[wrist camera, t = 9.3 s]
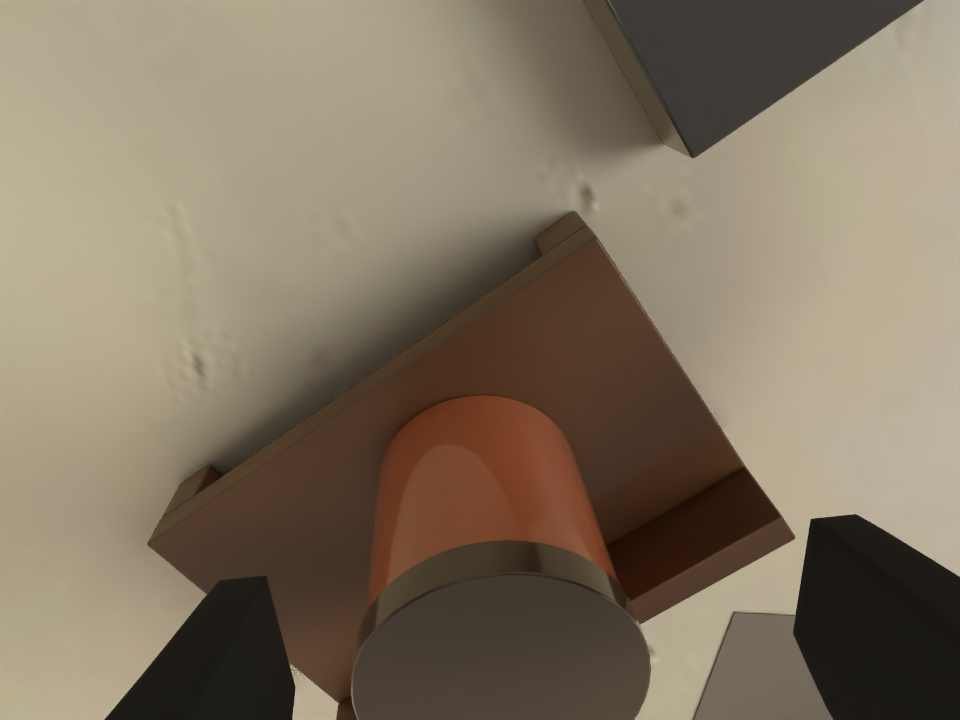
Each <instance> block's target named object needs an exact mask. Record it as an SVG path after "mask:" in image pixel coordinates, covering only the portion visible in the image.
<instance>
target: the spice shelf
mask: <svg viewBox="0 0 960 720" xmlns="http://www.w3.org/2000/svg"><path fill="white" fill-rule="evenodd" d="M535 242H536V244H537V246H538V248H539V250H540V252H541V254H542V257H540V258H539V259H537V260H536V261H534V262H533V263H532V264H530V265H529V266H527V267H526V268H524V269H523V270H521V271H520V272H518V273H517V274H516V275H514V276H513V277H511V278H510V279H508V280H507V281H505V282H504V283H503V284H501V285H500V286H498V287H497V288H495V289H494V290H492V291H491V292H489V293H488V294H487V295H485V296H484V297H482V298H481V299H479V300H478V301H476V302H475V303H474V304H472V305H471V306H469V307H468V308H466V309H465V310H463V311H462V312H460V313H459V314H458V315H456V316H455V317H453V318H452V319H450V320H449V321H447V322H446V323H445V324H443V325H442V326H440V327H439V328H437V329H436V330H434V331H433V332H431V333H430V334H429V335H427V336H426V337H424V338H423V339H421V340H420V341H418V342H417V343H416V344H414V345H413V346H411V347H410V348H408V349H407V350H405V351H404V352H402V353H401V354H400V355H398V356H397V357H395V358H394V359H392V360H391V361H389V362H388V363H387V364H385V365H384V366H382V367H381V368H379V369H378V370H376V371H375V372H373V373H372V374H371V375H369V376H368V377H366V378H365V379H363V380H362V381H360V382H359V383H358V384H356V385H355V386H353V387H352V388H350V389H349V390H347V391H346V392H344V393H343V394H342V395H340V396H339V397H337V398H336V399H334V400H333V401H331V402H330V403H329V404H327V405H326V406H324V407H323V408H321V409H320V410H318V411H317V412H315V413H314V414H313V415H311V416H310V417H308V418H307V419H305V420H304V421H302V422H301V423H300V424H298V425H297V426H295V427H294V428H292V429H291V430H289V431H288V432H286V433H285V434H284V435H282V436H281V437H279V438H278V439H276V440H275V441H273V442H272V443H271V444H269V445H268V446H266V447H265V448H263V449H262V450H260V451H259V452H257V453H256V454H255V455H253V456H252V457H250V458H249V459H247V460H246V461H244V462H243V463H242V464H240V465H239V466H237V467H236V468H234V469H233V470H231V471H230V472H228V473H227V474H226V475H224V476H222V475H221V474H220V473H219V472H217V471H216V470H215V469H214V468H213V467H212V466H210V465H209V466H207V467H205V468H204V469H202V470H201V471H199V472H198V473H197V474H195V475H194V476H192V477H191V478H189V479H188V480H187V481H185V482H184V483H182V484H181V485H179V487H178V489H177V491H176V493H175V494H174V496H173V498H172V500H171V502H170V504H169V506H168V507H167V509H166V511H165V513H164V515H163V517H162V519H160V521H159V523H158V525H157V526H156V528H155V530H154V532H153V534H152V536H151V538H150V539H149V541H148V543H147V545H148V546H149V547H150V548H151V549H153V550H154V551H155V552H156V553H158V554H159V555H160V556H161V557H162V558H164V559H165V560H166V561H167V562H168V563H170V564H171V565H172V566H173V567H174V568H176V569H177V570H178V571H179V572H181V573H182V574H183V575H184V576H185V577H187V578H188V579H189V580H190V581H191V582H193V583H194V584H195V585H196V586H197V587H199V588H200V589H201V590H202V591H203V592H205V593H206V594H208V593H209V592H210V590H211V589H212V588H213V587H214V586H215V585H216V584H217V582H218V581H219V580H228V579H238V578H247V577H257V576H267V580H268V584H269V588H270V592H271V596H272V599H273V603H274V607H275V611H276V615H277V619H278V623H279V626H280V630H281V634H282V638H283V642H284V646H285V649H286V653H287V657H288V661H289V663H291V664H292V665H293V666H294V667H295V668H297V669H298V670H299V671H300V672H301V673H303V674H304V675H305V676H306V677H307V678H309V679H310V680H311V681H312V682H314V683H315V684H316V685H317V686H318V687H320V688H321V689H322V690H323V691H324V692H326V693H327V694H328V695H329V696H330V697H332V698H333V699H334V700H335V701H337V702H338V703H339V705H338V711H337V719H336V720H357V717H356V714H355V711H354V708H353V704H352V697H351V678H352V669H353V660H354V651H355V644H356V639H357V635H358V630H359V628H360V626H361V623H362V621H363V618H364V613H365V604H366V594H367V585H368V575H369V566H370V556H371V546H372V537H373V527H374V518H375V508H376V499H377V489H378V480H379V471H380V467H381V462H382V459H383V457H384V454H385V452H386V450H387V448H388V446H389V444H390V443H391V441H392V440H393V438H394V437H395V436H396V434H397V433H398V432H399V431H400V430H401V429H402V428H403V427H404V426H405V425H406V424H407V423H408V422H409V421H410V420H412V419H413V418H414V417H415V416H417V415H418V414H420V413H421V412H423V411H425V410H426V409H428V408H430V407H432V406H434V405H437V404H439V403H442V402H444V401H448V400H451V399H455V398H460V397H466V396H476V395H488V396H499V397H505V398H510V399H513V400H516V401H519V402H522V403H525V404H527V405H529V406H531V407H533V408H535V409H537V410H538V411H540V412H542V413H543V414H545V415H546V416H547V417H548V418H550V419H551V420H552V421H553V422H554V423H555V424H556V425H557V426H558V427H559V428H560V429H561V431H562V432H563V433H564V435H565V437H566V438H567V440H568V441H569V444H570V446H571V448H572V450H573V453H574V456H575V458H576V461H577V464H578V467H579V470H580V473H581V476H582V478H583V481H584V484H585V487H586V490H587V493H588V496H589V498H590V501H591V504H592V507H593V510H594V513H595V516H596V518H597V521H598V524H599V527H600V530H601V533H602V536H603V538H604V541H605V544H606V547H607V550H608V553H609V556H610V558H611V561H612V564H613V567H614V570H615V573H616V576H617V578H618V581H619V584H620V586H621V587H622V589H623V590H624V591H625V593H626V594H627V596H628V597H629V599H630V601H631V603H632V605H633V608H634V610H635V612H636V615H637V618H638V621H639V623H640V624H641V623H643V622H645V621H647V620H649V619H651V618H652V617H654V616H656V615H658V614H660V613H661V612H663V611H665V610H667V609H669V608H670V607H672V606H674V605H676V604H678V603H680V602H681V601H683V600H685V599H687V598H689V597H690V596H692V595H694V594H696V593H698V592H699V591H701V590H703V589H705V588H707V587H708V586H710V585H712V584H714V583H716V582H718V581H719V580H721V579H723V578H725V577H727V576H728V575H730V574H732V573H734V572H736V571H737V570H739V569H741V568H743V567H745V566H747V565H748V564H750V563H752V562H754V561H756V560H757V559H759V558H761V557H763V556H765V555H766V554H768V553H770V552H772V551H774V550H776V549H777V548H779V547H781V546H783V545H785V544H786V543H788V542H790V541H792V540H794V539H795V536H794V534H793V532H792V531H791V529H790V528H789V526H788V525H787V523H786V522H785V520H784V518H783V517H782V515H781V514H780V513H779V511H778V510H777V509H776V507H775V506H774V505H773V503H772V502H771V500H770V499H769V498H768V496H767V495H766V494H765V492H764V491H763V490H762V488H761V487H760V485H759V484H758V483H757V481H756V480H755V479H754V477H753V476H752V475H751V473H750V472H749V470H748V469H747V468H746V466H745V465H744V463H743V462H742V460H741V459H740V457H739V456H738V454H737V452H736V451H735V449H734V448H733V446H732V445H731V443H730V442H729V440H728V439H727V437H726V435H725V434H724V432H723V431H722V429H721V428H720V426H719V425H718V423H717V422H716V420H715V418H714V417H713V415H712V414H711V412H710V411H709V409H708V408H707V406H706V404H705V403H704V401H703V400H702V398H701V397H700V395H699V394H698V392H697V391H696V389H695V387H694V386H693V384H692V383H691V381H690V380H689V378H688V377H687V375H686V374H685V372H684V370H683V369H682V367H681V366H680V364H679V363H678V361H677V360H676V358H675V357H674V355H673V353H672V352H671V350H670V349H669V347H668V346H667V344H666V343H665V341H664V340H663V338H662V336H661V335H660V333H659V332H658V330H657V329H656V327H655V326H654V324H653V323H652V321H651V319H650V318H649V316H648V315H647V313H646V312H645V310H644V309H643V307H642V306H641V304H640V302H639V301H638V299H637V298H636V296H635V295H634V293H633V292H632V290H631V289H630V287H629V285H628V284H627V282H626V281H625V279H624V278H623V276H622V275H621V273H620V272H619V270H618V268H617V267H616V265H615V264H614V262H613V261H612V259H611V258H610V256H609V255H608V253H607V251H606V250H605V248H604V247H603V245H602V244H601V242H600V241H599V239H598V238H597V236H596V235H595V234H594V233H593V231H592V230H591V229H590V228H589V227H588V226H587V224H586V223H585V222H584V221H583V220H582V218H581V217H580V216H579V215H578V214H577V212H575V211H572V212H571V213H569V214H568V215H566V216H565V217H563V218H562V219H561V220H559V221H558V222H556V223H555V224H553V225H552V226H550V227H549V228H548V229H546V230H545V231H543V232H542V233H540V234H539V235H538V236H536V237H535Z"/></svg>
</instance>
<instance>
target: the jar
mask: <svg viewBox="0 0 960 720" xmlns="http://www.w3.org/2000/svg"><path fill="white" fill-rule="evenodd" d="M650 673H651V665H650V654H649V651H648V647H647V643H646V640H645V637H644V634H643V632H642V629H641V626H640V623H639V621H638V618H637V615H636V612H635V610H634V608H633V605H632V603H631V601H630V599H629V597H628V596H627V594H626V593H625V591H624V590H623V589H622V587H621V586H620V584H619V581H618V578H617V576H616V573H615V570H614V567H613V564H612V561H611V558H610V556H609V553H608V550H607V547H606V544H605V541H604V538H603V536H602V533H601V530H600V527H599V524H598V521H597V518H596V516H595V513H594V510H593V507H592V504H591V501H590V498H589V496H588V493H587V490H586V487H585V484H584V481H583V478H582V476H581V473H580V470H579V467H578V464H577V461H576V458H575V456H574V453H573V450H572V448H571V446H570V444H569V441H568V440H567V438H566V437H565V435H564V433H563V432H562V431H561V429H560V428H559V427H558V426H557V425H556V424H555V423H554V422H553V421H552V420H551V419H550V418H548V417H547V416H546V415H545V414H543V413H542V412H540V411H538V410H537V409H535V408H533V407H531V406H529V405H527V404H525V403H522V402H519V401H516V400H513V399H510V398H505V397H499V396H488V395H476V396H466V397H460V398H455V399H451V400H448V401H444V402H442V403H439V404H437V405H434V406H432V407H430V408H428V409H426V410H425V411H423V412H421V413H420V414H418V415H417V416H415V417H414V418H413V419H412V420H410V421H409V422H408V423H407V424H406V425H405V426H404V427H403V428H402V429H401V430H400V431H399V432H398V433H397V434H396V436H395V437H394V438H393V440H392V441H391V443H390V444H389V446H388V448H387V450H386V452H385V454H384V457H383V459H382V462H381V467H380V471H379V480H378V489H377V499H376V508H375V518H374V527H373V537H372V546H371V556H370V566H369V575H368V585H367V594H366V604H365V613H364V618H363V621H362V623H361V626H360V628H359V630H358V635H357V639H356V644H355V651H354V660H353V669H352V678H351V697H352V704H353V708H354V711H355V714H356V717H357V720H634V719H635V717H636V716H637V714H638V713H639V711H640V709H641V707H642V705H643V703H644V700H645V698H646V694H647V691H648V687H649V682H650Z"/></svg>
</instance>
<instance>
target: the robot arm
mask: <svg viewBox="0 0 960 720" xmlns="http://www.w3.org/2000/svg"><path fill="white" fill-rule="evenodd" d="M793 635H794V637H795V639H796V642H797V644H798V646H799V649H800V651H801V653H802V655H803V658H804V660H805V662H806V665H807V667H808V669H809V672H810V674H811V676H812V678H813V680H814V682H815V685H816V687H817V689H818V691H819V693H820V695H821V697H822V699H823V702H824V704H825V706H826V708H827V710H828V711H829V713H830V715H831V717H832V718H833V720H960V577H959V576H957V575H956V574H954V573H953V572H951V571H949V570H948V569H946V568H944V567H943V566H941V565H940V564H938V563H936V562H935V561H933V560H932V559H930V558H928V557H927V556H925V555H924V554H922V553H920V552H919V551H917V550H915V549H914V548H912V547H911V546H909V545H907V544H906V543H904V542H902V541H901V540H899V539H898V538H896V537H894V536H893V535H891V534H889V533H888V532H886V531H884V530H883V529H881V528H879V527H877V526H876V525H874V524H872V523H871V522H869V521H867V520H865V519H863V518H862V517H860V516H858V515H856V514H854V515H844V516H835V517H825V518H816V519H811V521H810V528H809V534H808V540H807V547H806V553H805V559H804V565H803V572H802V578H801V584H800V591H799V597H798V603H797V610H796V616H795V622H794V629H793ZM294 696H295V684H294V680H293V676H292V672H291V669H290V665H289V661H288V657H287V653H286V649H285V646H284V642H283V638H282V634H281V630H280V626H279V623H278V619H277V615H276V611H275V607H274V603H273V599H272V596H271V592H270V588H269V584H268V580H267V576H257V577H247V578H238V579H228V580H219V581H218V582H217V584H216V585H215V586H214V587H213V588H212V589H211V590H210V592H209V593H208V594H207V595H206V597H205V598H204V599H203V600H202V601H201V603H200V604H199V605H198V606H197V607H196V609H195V610H194V611H193V612H192V614H191V615H190V616H189V617H188V619H187V620H186V621H185V622H184V624H183V625H182V626H181V627H180V629H179V630H178V631H177V632H176V634H175V635H174V636H173V637H172V639H171V640H170V641H169V642H168V644H167V645H166V646H165V647H164V649H163V650H162V651H161V652H160V654H159V655H158V656H157V657H156V658H155V660H154V661H153V662H152V663H151V665H150V666H149V667H148V668H147V670H146V671H145V672H144V673H143V674H142V676H141V677H140V678H139V679H138V680H137V682H136V683H135V684H134V685H133V686H132V688H131V689H130V690H129V691H128V692H127V694H126V695H125V696H124V697H123V698H122V699H121V701H120V702H119V703H118V704H117V705H116V707H115V708H114V709H113V710H112V711H111V713H110V714H109V715H108V716H107V717H106V718H105V720H292V715H293V705H294Z"/></svg>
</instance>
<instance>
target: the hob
mask: <svg viewBox="0 0 960 720" xmlns="http://www.w3.org/2000/svg"><path fill="white" fill-rule="evenodd" d="M582 1H583V3H584V4H585V6H586V8H587V10H588V12H589V13H590V15H591V17H592V19H593V20H594V22H595V24H596V26H597V27H598V29H599V31H600V33H601V35H602V36H603V38H604V40H605V42H606V43H607V45H608V47H609V49H610V50H611V52H612V54H613V56H614V58H615V59H616V61H617V63H618V65H619V66H620V68H621V70H622V72H623V73H624V75H625V77H626V79H627V81H628V82H629V84H630V86H631V88H632V89H633V91H634V93H635V95H636V96H637V98H638V100H639V102H640V103H641V105H642V107H643V109H644V111H645V112H646V114H647V116H648V118H649V119H650V121H651V123H652V125H653V126H654V128H655V130H656V132H657V134H658V135H659V137H660V139H661V141H662V142H663V144H664V145H666V146H668V147H670V148H672V149H674V150H676V151H678V152H680V153H682V154H684V155H686V156H688V157H690V158H696V157H697V156H698V155H700V154H701V153H703V152H704V151H706V150H707V149H709V148H710V147H712V146H713V145H714V144H716V143H717V142H719V141H720V140H722V139H723V138H725V137H726V136H728V135H729V134H730V133H732V132H733V131H735V130H736V129H738V128H739V127H741V126H742V125H744V124H745V123H746V122H748V121H749V120H751V119H752V118H754V117H755V116H757V115H758V114H760V113H761V112H762V111H764V110H765V109H767V108H768V107H770V106H771V105H773V104H774V103H776V102H777V101H778V100H780V99H781V98H783V97H784V96H786V95H787V94H789V93H790V92H792V91H793V90H794V89H796V88H797V87H799V86H800V85H802V84H803V83H805V82H806V81H808V80H809V79H810V78H812V77H813V76H815V75H816V74H818V73H819V72H821V71H822V70H824V69H825V68H826V67H828V66H829V65H831V64H832V63H834V62H835V61H837V60H838V59H840V58H841V57H842V56H844V55H845V54H847V53H848V52H850V51H851V50H853V49H854V48H856V47H857V46H858V45H860V44H861V43H863V42H864V41H866V40H867V39H869V38H870V37H872V36H873V35H874V34H876V33H877V32H879V31H880V30H882V29H883V28H885V27H886V26H888V25H889V24H890V23H892V22H893V21H895V20H896V19H898V18H899V17H901V16H902V15H904V14H905V13H906V12H908V11H909V10H911V9H912V8H914V7H915V6H917V5H918V4H920V3H921V2H922V1H924V0H582Z"/></svg>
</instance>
